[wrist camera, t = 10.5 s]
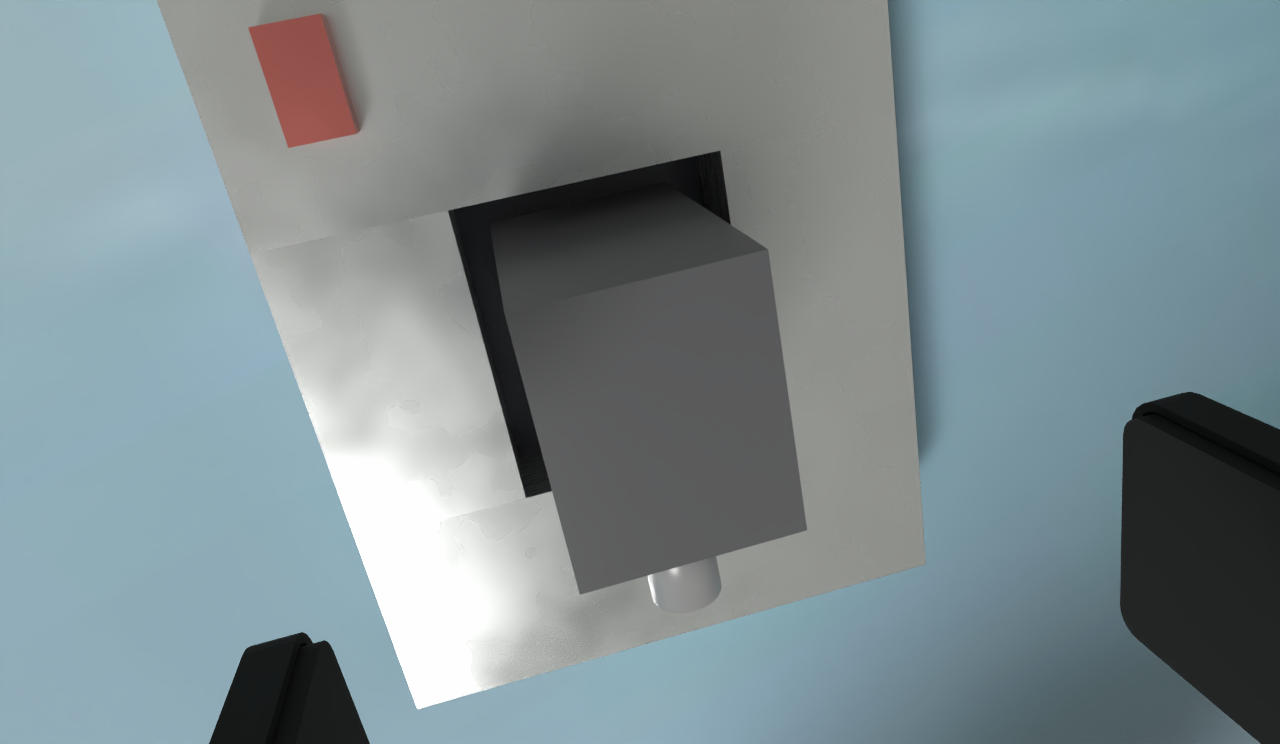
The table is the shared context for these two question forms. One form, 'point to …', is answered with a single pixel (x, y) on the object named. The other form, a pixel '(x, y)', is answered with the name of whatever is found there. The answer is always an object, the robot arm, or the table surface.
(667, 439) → the plug
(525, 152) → the socket plate
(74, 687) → the table surface
